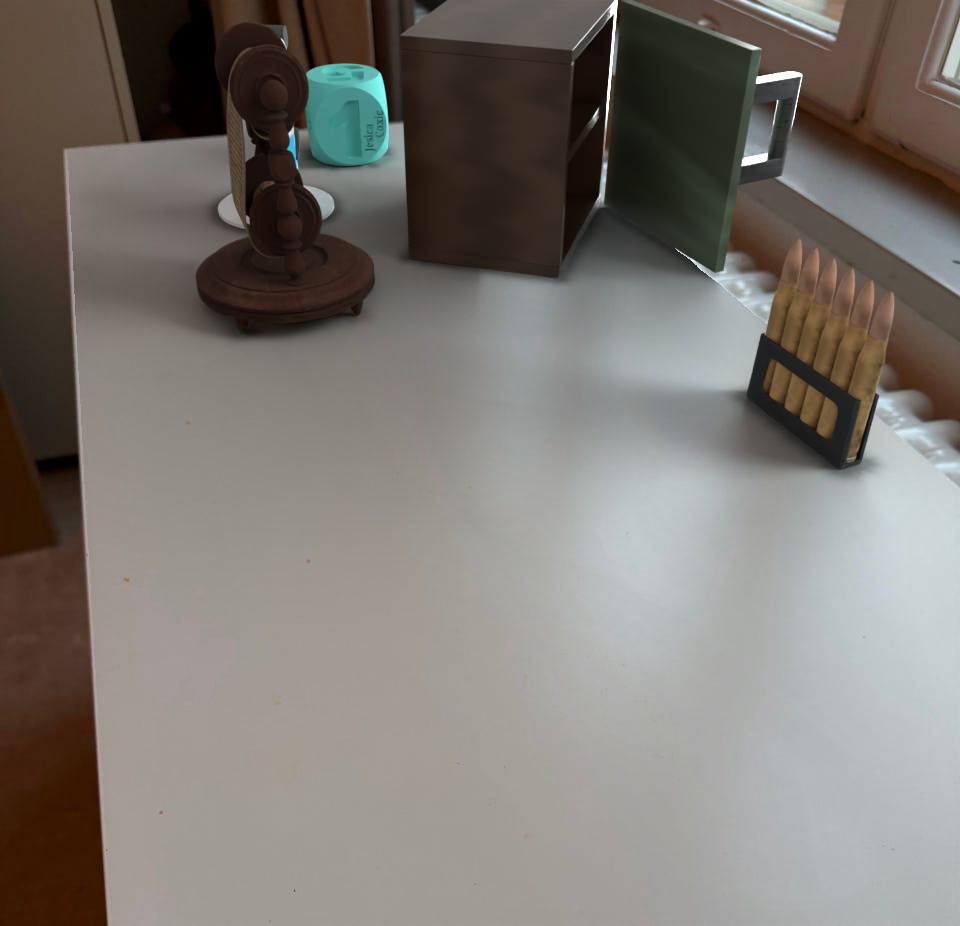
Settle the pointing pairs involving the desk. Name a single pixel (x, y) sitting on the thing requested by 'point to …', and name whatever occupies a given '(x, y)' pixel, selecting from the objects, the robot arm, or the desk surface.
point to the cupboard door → (688, 129)
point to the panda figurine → (324, 199)
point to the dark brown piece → (274, 199)
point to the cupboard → (505, 130)
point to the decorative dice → (347, 114)
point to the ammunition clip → (822, 358)
